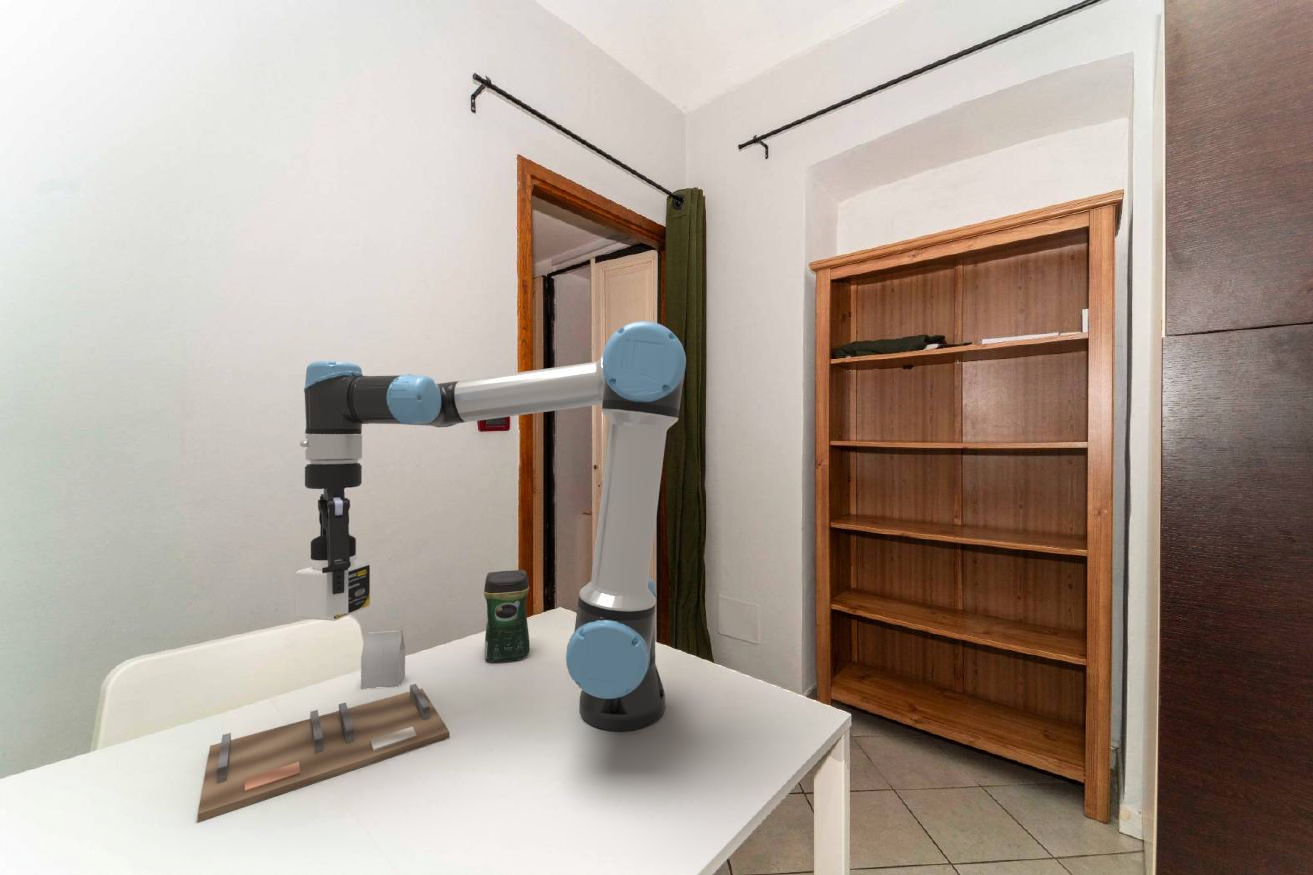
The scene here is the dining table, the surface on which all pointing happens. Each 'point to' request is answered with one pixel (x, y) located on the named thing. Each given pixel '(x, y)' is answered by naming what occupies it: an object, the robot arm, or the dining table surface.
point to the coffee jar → (506, 616)
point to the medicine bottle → (314, 583)
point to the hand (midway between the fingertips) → (333, 605)
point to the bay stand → (315, 750)
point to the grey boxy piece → (383, 659)
